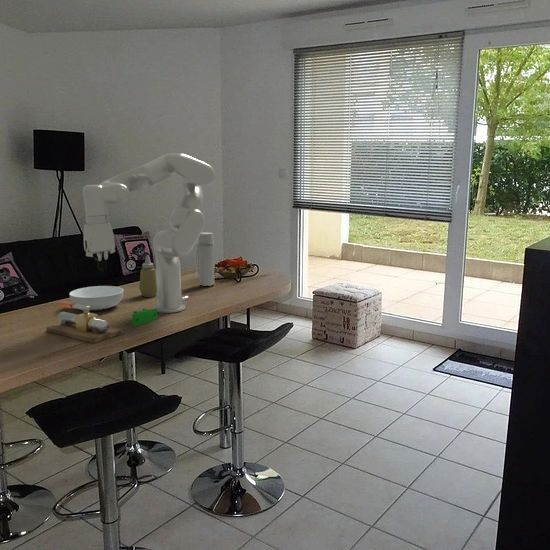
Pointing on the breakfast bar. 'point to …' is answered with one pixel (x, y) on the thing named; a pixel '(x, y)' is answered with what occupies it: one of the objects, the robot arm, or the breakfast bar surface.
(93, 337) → the valve stand
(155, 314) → the pipe clamp
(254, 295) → the breakfast bar surface
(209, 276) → the water bottle
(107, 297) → the serving bowl
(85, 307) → the valve lever
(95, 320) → the valve and pipe
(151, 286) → the squeeze bottle
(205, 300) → the breakfast bar surface
